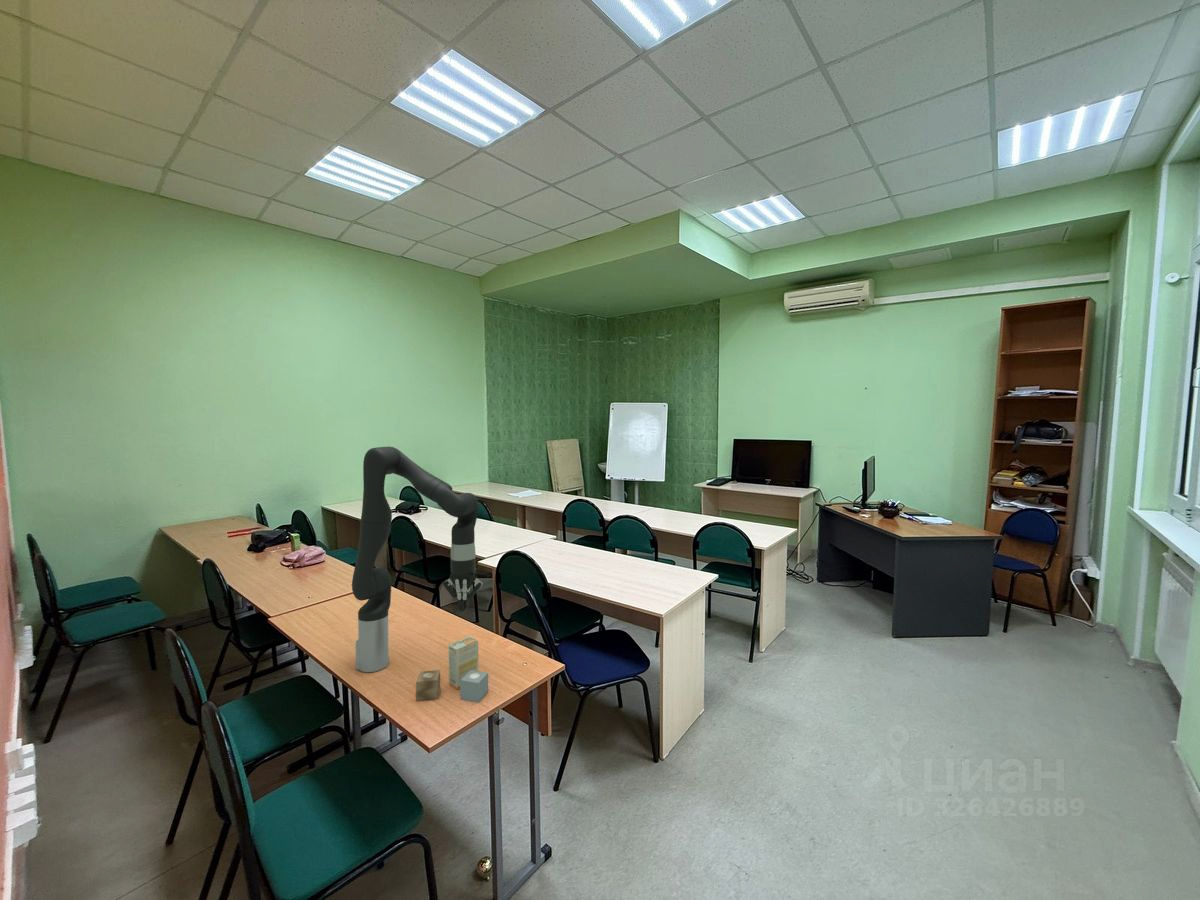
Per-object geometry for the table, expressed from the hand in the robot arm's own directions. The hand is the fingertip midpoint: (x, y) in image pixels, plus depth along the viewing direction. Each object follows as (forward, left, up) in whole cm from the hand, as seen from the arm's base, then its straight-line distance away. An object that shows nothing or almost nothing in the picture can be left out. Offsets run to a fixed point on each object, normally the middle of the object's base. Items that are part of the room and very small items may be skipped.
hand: (463, 610), depth 149 cm
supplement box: (0, 0, -24) cm, 24 cm away
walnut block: (-8, -8, -23) cm, 26 cm away
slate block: (+6, -7, -23) cm, 25 cm away
